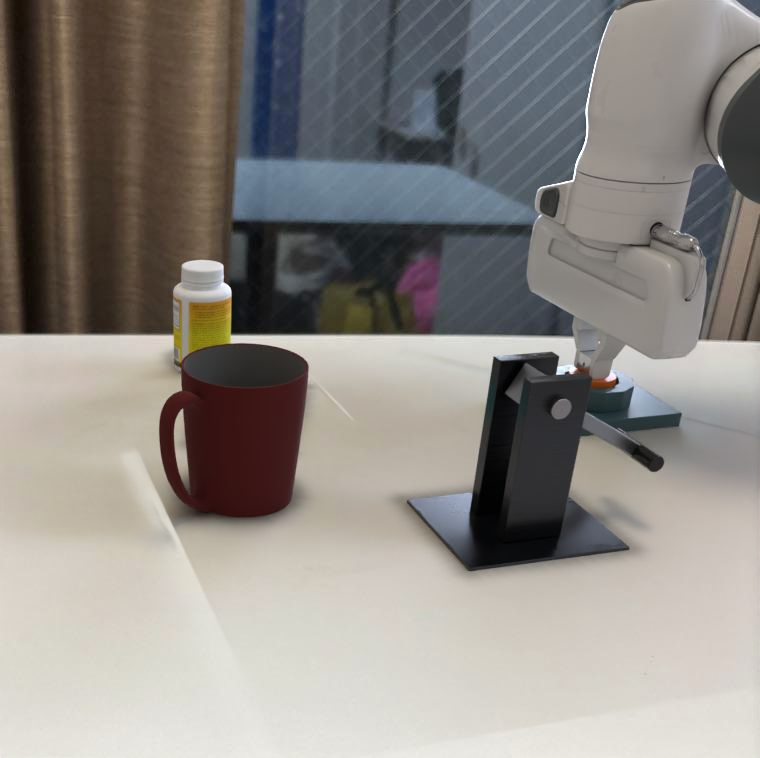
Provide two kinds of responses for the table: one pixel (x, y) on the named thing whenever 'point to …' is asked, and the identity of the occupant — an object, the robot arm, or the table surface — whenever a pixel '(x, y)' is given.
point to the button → (599, 383)
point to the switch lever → (597, 427)
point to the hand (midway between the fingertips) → (590, 373)
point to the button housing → (627, 406)
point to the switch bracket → (523, 476)
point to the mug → (237, 428)
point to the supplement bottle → (200, 309)
